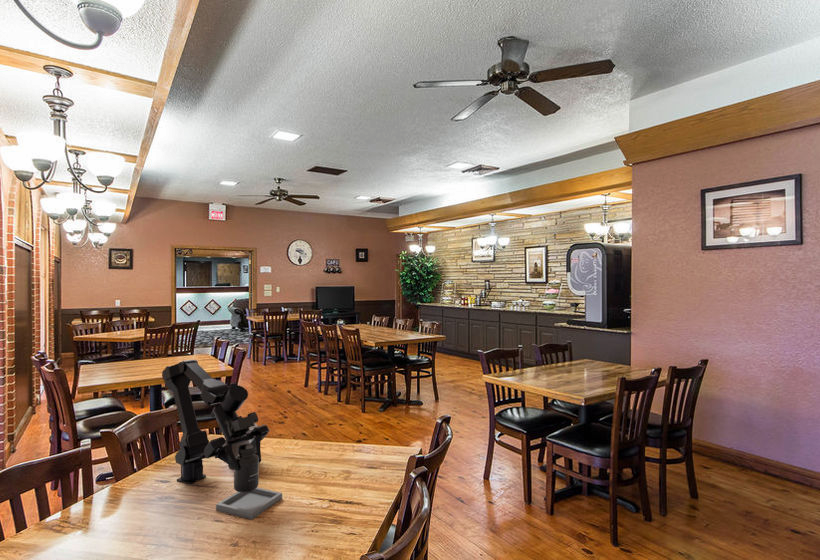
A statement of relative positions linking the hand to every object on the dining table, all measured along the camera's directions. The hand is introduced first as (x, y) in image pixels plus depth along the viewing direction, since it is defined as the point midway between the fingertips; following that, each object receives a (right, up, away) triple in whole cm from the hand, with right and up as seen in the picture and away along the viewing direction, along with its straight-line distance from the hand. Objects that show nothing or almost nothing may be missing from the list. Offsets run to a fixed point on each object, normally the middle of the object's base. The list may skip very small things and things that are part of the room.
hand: (249, 465), depth 130 cm
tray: (-1, -12, +2) cm, 12 cm away
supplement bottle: (-1, -7, +1) cm, 7 cm away
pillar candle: (-13, -13, +31) cm, 36 cm away
